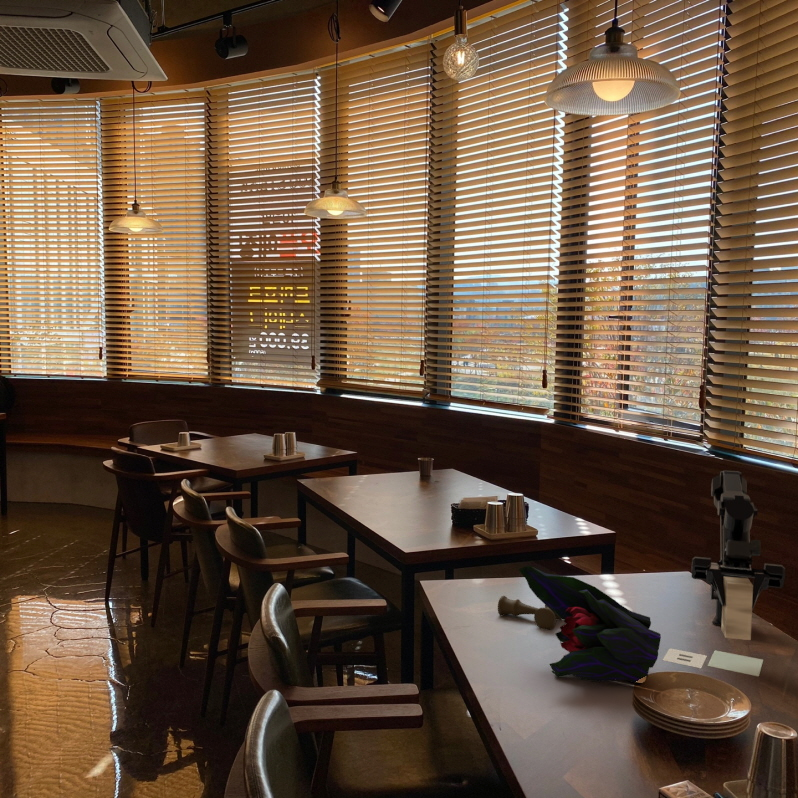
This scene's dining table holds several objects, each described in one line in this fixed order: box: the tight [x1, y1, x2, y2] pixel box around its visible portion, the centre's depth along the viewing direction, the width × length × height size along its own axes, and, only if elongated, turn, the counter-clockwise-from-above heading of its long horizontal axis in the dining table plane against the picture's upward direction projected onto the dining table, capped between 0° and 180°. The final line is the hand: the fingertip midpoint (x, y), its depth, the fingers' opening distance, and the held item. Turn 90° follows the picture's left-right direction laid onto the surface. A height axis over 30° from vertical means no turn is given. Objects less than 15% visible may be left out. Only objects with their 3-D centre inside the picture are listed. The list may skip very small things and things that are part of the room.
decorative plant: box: [518, 565, 662, 684], centre depth 158 cm, size 21×26×30 cm
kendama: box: [497, 595, 563, 631], centre depth 189 cm, size 6×10×20 cm
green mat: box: [707, 650, 764, 677], centre depth 163 cm, size 10×10×1 cm
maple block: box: [720, 576, 753, 641], centre depth 162 cm, size 5×5×12 cm
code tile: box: [662, 648, 708, 669], centre depth 166 cm, size 8×8×1 cm
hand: (737, 606), depth 161 cm, fingers closed on maple block, 5 cm apart
